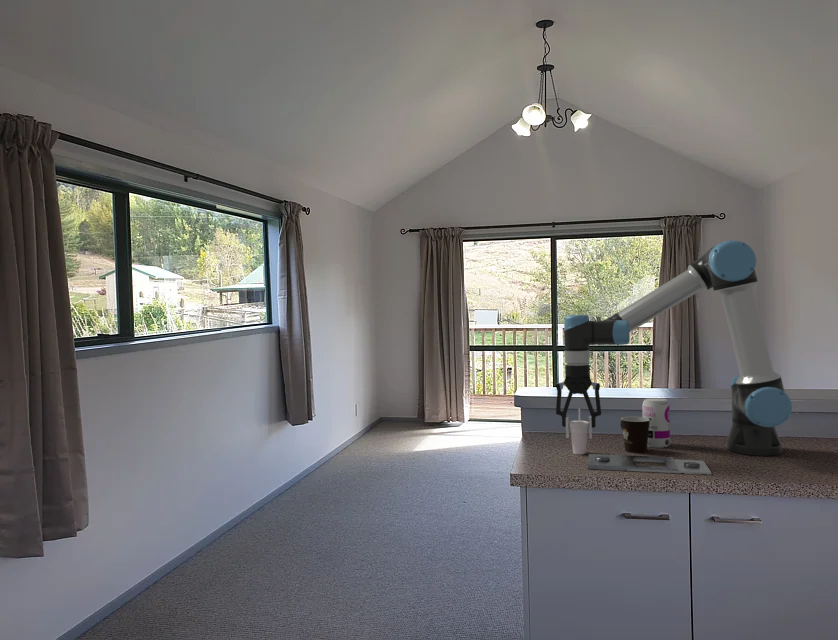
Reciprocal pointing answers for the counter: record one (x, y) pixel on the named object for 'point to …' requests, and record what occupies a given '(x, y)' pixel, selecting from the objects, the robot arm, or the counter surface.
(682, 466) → the link plate
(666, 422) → the supplement can
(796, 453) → the counter surface
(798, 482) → the counter surface
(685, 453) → the counter surface
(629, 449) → the coffee mug
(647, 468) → the link plate
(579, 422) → the smoothie
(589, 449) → the counter surface
